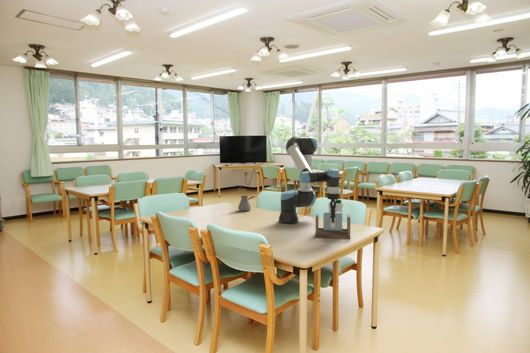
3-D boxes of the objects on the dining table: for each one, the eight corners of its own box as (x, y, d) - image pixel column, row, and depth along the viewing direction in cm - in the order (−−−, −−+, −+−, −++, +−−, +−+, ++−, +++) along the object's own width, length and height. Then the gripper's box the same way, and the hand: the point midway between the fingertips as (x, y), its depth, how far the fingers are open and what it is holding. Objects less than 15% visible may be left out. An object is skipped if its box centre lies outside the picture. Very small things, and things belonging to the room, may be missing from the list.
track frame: (316, 232, 247) (316, 213, 246) (349, 233, 243) (349, 213, 242) (315, 237, 236) (315, 217, 234) (350, 238, 232) (350, 218, 230)
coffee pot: (235, 210, 321) (235, 193, 319) (246, 208, 328) (246, 192, 326) (249, 214, 304) (248, 196, 302) (260, 212, 311) (260, 195, 309)
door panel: (323, 232, 242) (323, 211, 240) (341, 233, 240) (342, 212, 238) (323, 233, 239) (323, 212, 237) (342, 234, 237) (342, 213, 235)
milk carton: (344, 228, 256) (344, 200, 254) (333, 230, 253) (333, 201, 251) (337, 225, 264) (337, 198, 262) (326, 227, 261) (326, 199, 259)
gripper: (327, 189, 249) (327, 220, 251) (327, 196, 225) (326, 229, 227) (338, 189, 248) (338, 220, 250) (339, 196, 223) (339, 230, 226)
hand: (332, 224), depth 239 cm, fingers open, 13 cm apart
